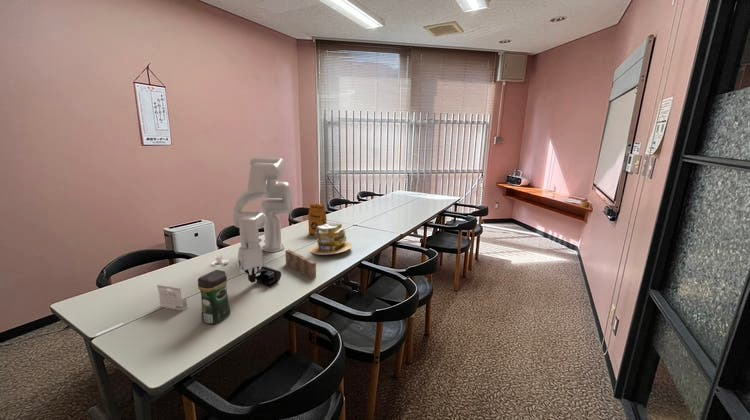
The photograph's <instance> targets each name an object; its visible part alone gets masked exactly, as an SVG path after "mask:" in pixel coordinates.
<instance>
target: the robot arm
mask: <svg viewBox="0 0 750 420" xmlns="http://www.w3.org/2000/svg"><path fill="white" fill-rule="evenodd" d="M249 161H250V162H249V164H250V169H249V174H248V184H247V189H246V191H245V192H244V193H243V194H242V195H241V196H240V197H239V198H238V199H237V201H236V202H235V204H234V209H233V215H232V223H233V225H234V227H236V228H238V229H239V237H240V246H239V247H238V253H237V266H238V267H237V268H239V274H240V273H241V274H244V273H246V274H247V280H248V281H249V282H250V283H252V284H253V283H257V282H256V281H257V280H256V276H257V274H256V273H257V271H258V270H259V269H261V267H262V266H264V255H263V251H264V252H266V253H277V252H280V251H282V250H284V249H285V245H284V244H283V243H282V229H281V227H282V226H281V224H282V223H281V218H280V217H279V216H278V215H289V214H291V213H292V211H293V201H292V200H293V197H292V189H291V185H290V183H289V182H287V181H278V180H280V179H281V178H282V175H283V174H284V172H285V170H286V163H285V161H284V159H283V158H282V157H267V156H264V157H263V156H256V157H255V156H253V157H252V158H251V159H250V160H249ZM263 197H264V199H263V200H261V203H260V204H261V205H260V207H261V211H243V210H244V208H245V207H246V205H248V204H250V203H251V202H254V201H255V200H258V199H261V198H263ZM262 228H263V230H264V231H263V232H264V239H263V243H264V245H263V246H262V247H261V244H260V242H262V238H260V237H259V236H260V235H259V229H262Z"/></svg>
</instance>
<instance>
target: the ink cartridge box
mask: <svg viewBox="0 0 750 420" xmlns="http://www.w3.org/2000/svg"><path fill="white" fill-rule="evenodd" d="M156 285H157V291H158V297H159V305H160V307H162V308H167V309H173V310H177V311H185V310H187V309H188V301H187V296H184V295H182V291H181V288H178V287H174V286H165V285H159V284H156ZM168 289H169V290H168Z"/></svg>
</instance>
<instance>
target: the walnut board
mask: <svg viewBox="0 0 750 420" xmlns="http://www.w3.org/2000/svg"><path fill="white" fill-rule="evenodd" d="M285 264H286V265H287V266H289V267H290V268H292V269H294V270H295V271H298V272H299V273H301V274H303V275H305V276H307V277H308V278H310V279H312V280H314V279H316V278H317V262H315V261H313V260H311V259H309V258H307V257H305V256H303V255H301V254H298V252H295V251H293V250H291V249H285Z"/></svg>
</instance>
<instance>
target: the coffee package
mask: <svg viewBox="0 0 750 420" xmlns="http://www.w3.org/2000/svg"><path fill="white" fill-rule="evenodd" d="M307 216H308V217H307V218H308V219H307V220H308V221H307V222H308V234H309V235H314V236H315V233H316V228H317V226H322V225H324V224H327V213H326V208H325V205H324V204H320V203H311V202H310V203H309V210H308V215H307Z"/></svg>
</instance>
